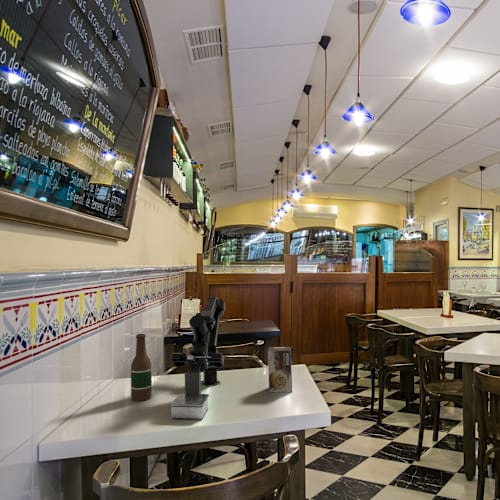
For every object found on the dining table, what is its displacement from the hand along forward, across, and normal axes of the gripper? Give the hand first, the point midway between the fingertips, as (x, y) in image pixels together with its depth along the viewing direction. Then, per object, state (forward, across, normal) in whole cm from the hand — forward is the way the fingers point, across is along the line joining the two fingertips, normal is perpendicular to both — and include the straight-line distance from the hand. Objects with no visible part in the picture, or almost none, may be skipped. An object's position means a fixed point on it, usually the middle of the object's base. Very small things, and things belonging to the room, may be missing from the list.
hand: (193, 381), depth 130 cm
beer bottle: (0, +23, -13) cm, 26 cm away
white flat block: (+10, 0, -3) cm, 11 cm away
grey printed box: (-7, -30, -20) cm, 37 cm away
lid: (+7, 0, 0) cm, 7 cm away
